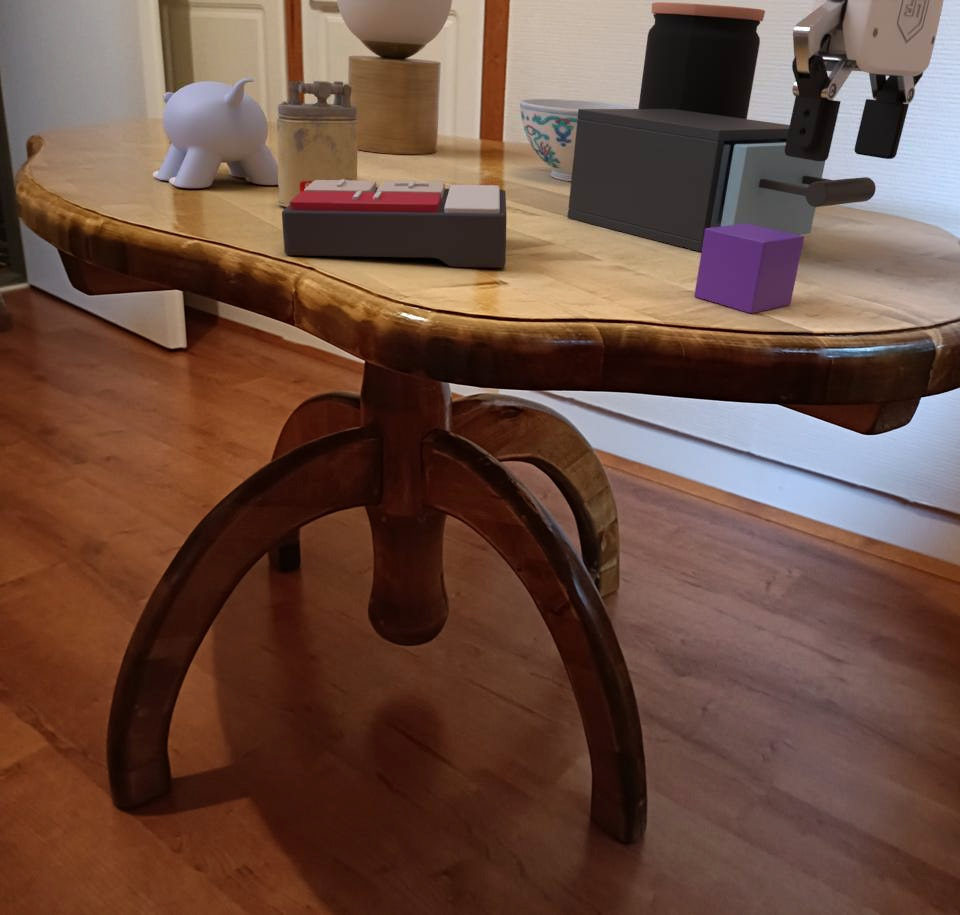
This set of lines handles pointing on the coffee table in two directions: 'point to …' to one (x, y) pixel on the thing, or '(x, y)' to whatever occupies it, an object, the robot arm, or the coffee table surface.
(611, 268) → the coffee table surface
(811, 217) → the grey drawer
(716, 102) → the coffee jar
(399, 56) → the lamp
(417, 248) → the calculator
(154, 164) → the coffee table surface
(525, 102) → the chinaware
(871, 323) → the coffee table surface
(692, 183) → the drawer cabinet
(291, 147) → the lighter
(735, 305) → the purple cube
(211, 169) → the hippopotamus toy
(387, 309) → the coffee table surface
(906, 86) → the robot arm
